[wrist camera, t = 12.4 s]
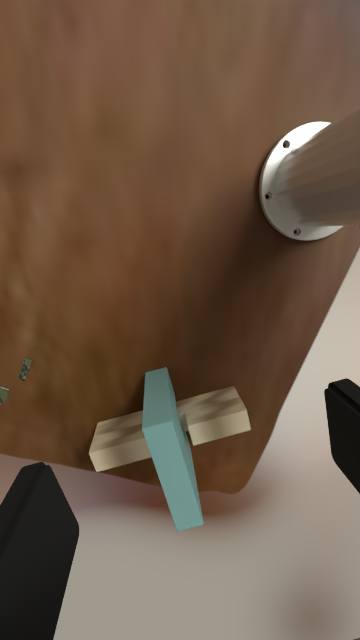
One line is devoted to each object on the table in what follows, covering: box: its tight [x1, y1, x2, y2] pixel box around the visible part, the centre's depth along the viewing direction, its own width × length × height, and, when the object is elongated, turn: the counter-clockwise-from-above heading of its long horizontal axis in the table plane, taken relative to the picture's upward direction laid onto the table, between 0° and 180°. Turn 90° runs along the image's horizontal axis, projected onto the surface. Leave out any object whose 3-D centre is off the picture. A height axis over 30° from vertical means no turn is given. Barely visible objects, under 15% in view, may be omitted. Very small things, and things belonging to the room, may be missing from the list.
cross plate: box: [142, 367, 204, 532], centre depth 36 cm, size 14×3×12 cm, turn 14°
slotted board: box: [89, 386, 251, 472], centre depth 39 cm, size 20×3×6 cm, turn 104°
